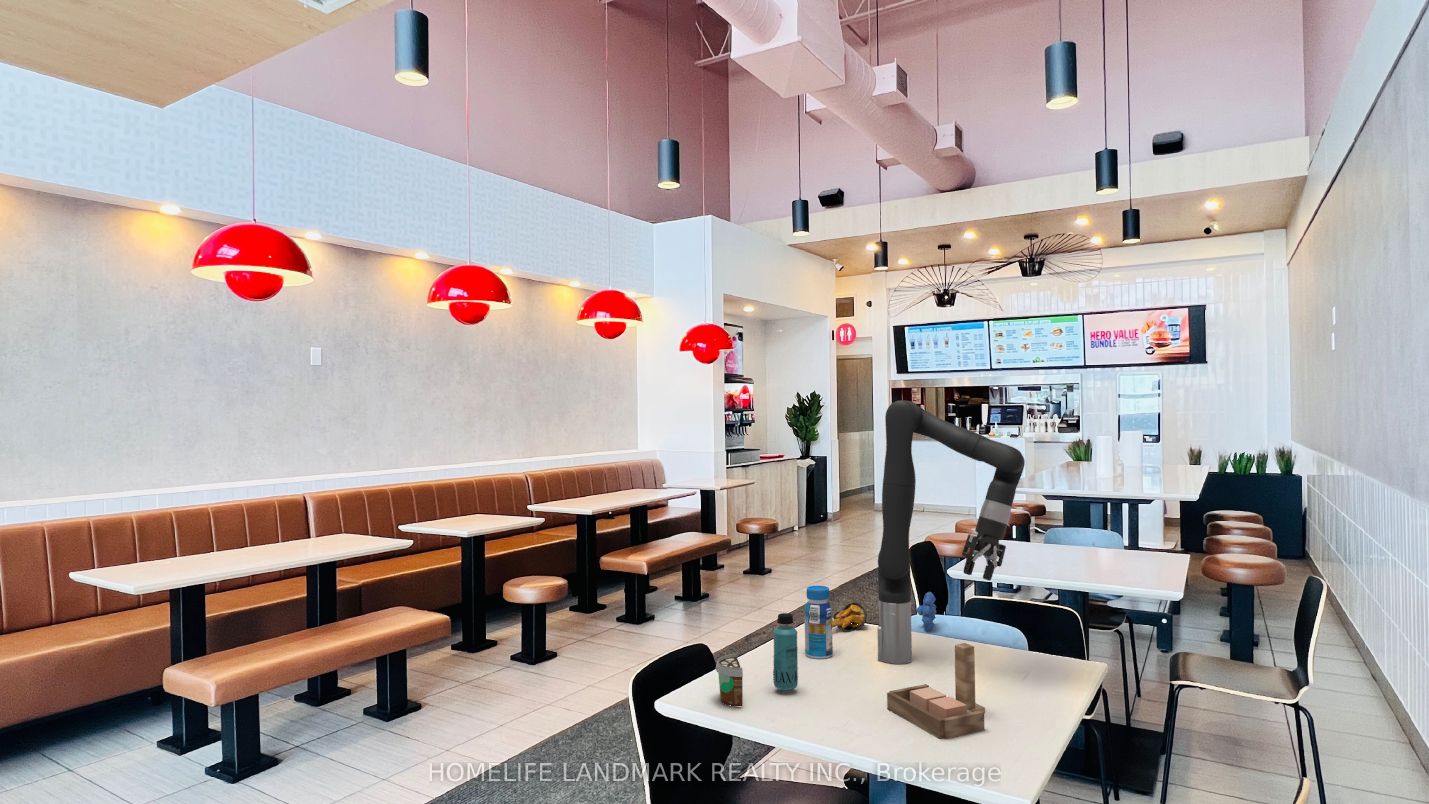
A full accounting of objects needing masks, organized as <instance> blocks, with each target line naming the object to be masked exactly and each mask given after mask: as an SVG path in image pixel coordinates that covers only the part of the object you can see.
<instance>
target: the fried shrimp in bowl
mask: <svg viewBox="0 0 1429 804" xmlns="http://www.w3.org/2000/svg"><path fill="white" fill-rule="evenodd" d="M832 615H833V616H832V618H833V623H832V629H833V628H835V627H837V628H838V629H839V630H841V631H843V632H852V631H857V630H859V629H861V628H862V627H864V626H865V624H866V622H867V617H868V616H867V612H866V609H865V607H864V606H863V604H860V603H859V602H856V601H855V602H854V601H853V602H852V601H851V602H849V603H847V604H846V605H845V607H843V609H842V610H841V611H836V612H834V614H832ZM851 623H852V624H851ZM857 624H858V625H857Z"/></svg>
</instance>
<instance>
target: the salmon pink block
mask: <svg viewBox="0 0 1429 804" xmlns="http://www.w3.org/2000/svg"><path fill="white" fill-rule="evenodd" d="M929 712H930V713H932V714H934V715H936V716H938V717H939V718H941V719H944V718H948V717H953V716H957V715H962V714H967V705H966V704H964V703H962V702H960V701H957V700H956V698H953V697H951V696H946V697H944V698H939V699H934V700H929Z"/></svg>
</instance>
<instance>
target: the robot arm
mask: <svg viewBox="0 0 1429 804" xmlns="http://www.w3.org/2000/svg"><path fill="white" fill-rule="evenodd" d="M884 422H885V440H886V443H885V444H886V445H885V457H884V464H883V465H884V467H883V477H882V478H883V479H882V490H881V491H882V493H881V508H882V509H881V510H882V511H881V513H882V527H883V528H882V530H883V531H882V536H881V537H882V538H881V544H880V550H879V552H878V555H877V573H878V575H877V577H878V578H877V579H878V581H877V584H878V587H877V589H878V590H877V593H878V594H877V595H878V626H877V661H880V662H884V663H888V664H893V665H894V664H895V665H901V664H902V665H903V664H904V665H905V664H908V663H911V662H912V660H913V657H912V656H913V652H912V651H913V648H912V646H913V644H912V643H913V642H912V588H911V587H912V585H911V556H910V529H911V528H910V527H911V523H912V517H913V512H914V505H915V499H916V498H915V497H916V472H915V466H914V460H913V454H912V451H913V450H912V447H913V446H912V444H913V438H914V437H913V436H914V434H917V435H922V436H925V437H927V438H930V439H933V440H934V441H936V442H938V443H940V444H942V445H943V446H946V447H947V448H949V449H951V450H952V451H954V452H957V453H959V454H961V455H963V456H965V457H966V458H969V459H972V460H975V461H978V462H983V463H985V464H987V465H990V466H991V467H993V468H995V471H994V475H993V478H992V480H991V481H990V482H989V484H988V485H989V486H988V488H987V492H986V495H985V499H984V501H983V503H982V505H981V509H980V513H979V516H978V519H977V522H976V526H975V528H974V529H975V532H976V533H977V535H974V534H968V535H967V538H966V540H965V543H964V547H963V550H962V553H961V555H962V556H964V557H965V563H964V567H963V574H965V575H968V576H972V575H973V571H974V567H975V564H976V561H977V560H978V558H982V556H983V557H984V558H985V561H986V565H985V568H984V571H983V573H982V574H983V576H982V579H984V580H986V581H991V580H992V578H993V575H994V572H995V568H997V567H1001V566H1002V564H1003V560H1004V556H1005V552H1006V549H1007V546H1006V545H1004V544H1002V543H1000V541H1002V540H1004V538H1005V536H1006V535H1005V534H1006V531H1007V527H1008V524H1009V522H1010V521H1009V520H1010V518H1011V514H1012V513H1011V511H1012V507H1013V504H1014V500H1015V496H1016V491H1017V487H1018V485H1019V483H1020V480H1021V477H1022V474H1023V472H1024V468H1025V462H1026V460H1025V458H1024V455H1023V454H1022V452H1021V451H1020V450H1019V449H1017V448H1016V447H1013V446H1011V445H1008V444H1006V443H1002V442H999V441H995V440H993V439H991V438H988V437H986V436H984V435H982V434H981V433H980V434H979V433H977V432H974V431H972V430H970V429H967V428H966V427H965V428H964V427H961V426H959V425H956V424H954V423H951V422H949V421H946V420H945V419H942V418H940V417H938V416H936V415H934V414H932V413H930V412H929V411H927V410H926V409H924V408H923V407H921V406H919V405H918V404H917V403H915V402H913V401H910V400H901V399H900V400H895V401H893V402H892V403H891V404H890V405H889V406H888V408H887V410H886V411H885V421H884ZM968 551H969V552H968Z"/></svg>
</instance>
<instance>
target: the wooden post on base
mask: <svg viewBox="0 0 1429 804" xmlns="http://www.w3.org/2000/svg"><path fill="white" fill-rule="evenodd" d="M975 654H976V653H975V646H974V645H971V644H969V643H967V642H962V643H957V644H954V674H955V675H954V679H955V680H954V681H955V687H954V688H955V700H957V701H960V702H962V703H964V704H966V705H967V713H971V712H976V711H983V712H984V714H985V713H986V707H984V706H982V705H980V704H978V703H976V667H975V666H976V664H975V663H976V662H975Z"/></svg>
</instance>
